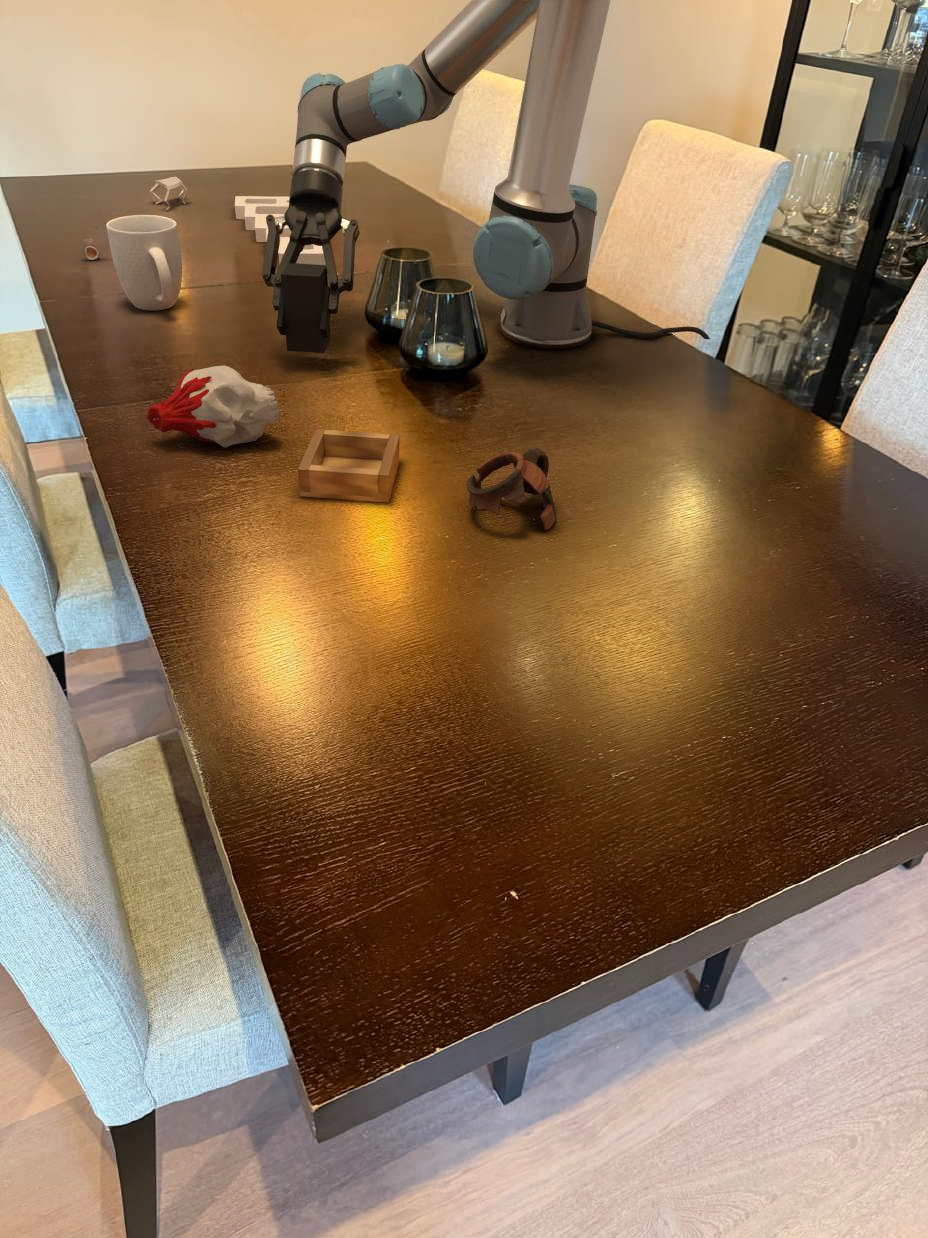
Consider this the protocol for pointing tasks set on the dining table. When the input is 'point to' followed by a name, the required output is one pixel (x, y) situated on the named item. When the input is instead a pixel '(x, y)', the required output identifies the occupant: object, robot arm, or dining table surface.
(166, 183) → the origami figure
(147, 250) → the mug
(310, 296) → the black block
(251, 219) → the holder
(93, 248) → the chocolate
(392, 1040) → the dining table surface
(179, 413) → the white red lumpy piece
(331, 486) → the open wooden box
